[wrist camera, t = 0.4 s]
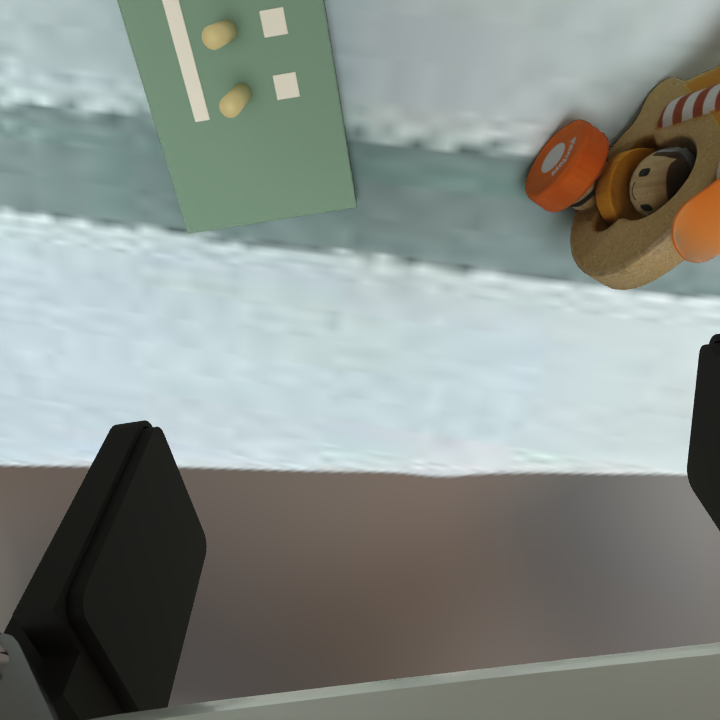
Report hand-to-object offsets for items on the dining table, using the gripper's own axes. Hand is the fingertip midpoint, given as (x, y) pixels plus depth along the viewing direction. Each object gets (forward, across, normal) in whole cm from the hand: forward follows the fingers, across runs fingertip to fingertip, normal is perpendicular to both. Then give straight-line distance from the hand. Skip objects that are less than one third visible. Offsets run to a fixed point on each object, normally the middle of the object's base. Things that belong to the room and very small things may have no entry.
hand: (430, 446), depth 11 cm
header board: (+29, +7, -6) cm, 31 cm away
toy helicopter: (+30, -16, +2) cm, 34 cm away
